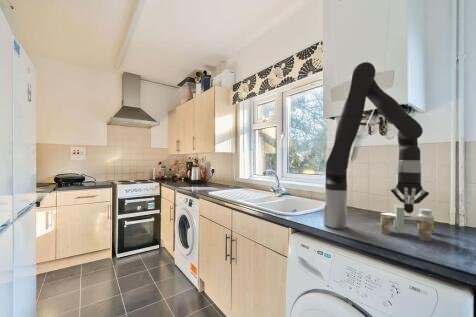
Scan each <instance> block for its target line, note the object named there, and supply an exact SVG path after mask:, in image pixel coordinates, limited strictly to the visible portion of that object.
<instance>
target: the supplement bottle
mask: <svg viewBox="0 0 476 317" xmlns="http://www.w3.org/2000/svg"><path fill="white" fill-rule="evenodd" d="M432 212H433V211H432V210H431V209H430V208H429V209H428V208H419V213H418V214H417V217H423V218H429V219H430V223H431V235H432V234H434V233H435V222H434V220H435V218H434V217H435V216H434V215H432Z"/></svg>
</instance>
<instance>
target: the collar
mask: <svg viewBox="0 0 476 317" xmlns="http://www.w3.org/2000/svg"><path fill="white" fill-rule="evenodd" d="M393 214H396V220H393V227H394V229H395V231H396V233H401V234H405V221H404V215H405V210H404V205H402V204H401V203H393Z"/></svg>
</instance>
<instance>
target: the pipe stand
mask: <svg viewBox="0 0 476 317" xmlns="http://www.w3.org/2000/svg"><path fill="white" fill-rule="evenodd" d="M380 232H381V234H385V235H389V236H390V235H391V219H390V217H386V216H381V215H380ZM417 236H418V238H419V239H420V240H421V241H429V242H431V241H432V234H431V223H430V222H426V221H420V223H417Z"/></svg>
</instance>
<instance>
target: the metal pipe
mask: <svg viewBox="0 0 476 317" xmlns="http://www.w3.org/2000/svg"><path fill="white" fill-rule="evenodd" d="M381 216H386V217H390V221H391V220H393V221H394V220H396V214H394V213H388V212H387V213H386V212H380V217H381ZM420 221H426V222H430V219H429V218H423V217H418V216H413V215H405V214H404V222H407V223H415V224H418V223H420Z"/></svg>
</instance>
